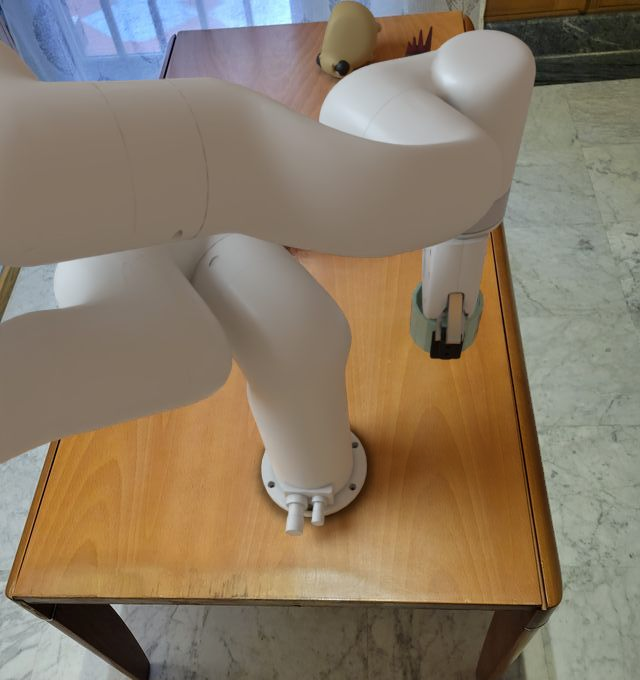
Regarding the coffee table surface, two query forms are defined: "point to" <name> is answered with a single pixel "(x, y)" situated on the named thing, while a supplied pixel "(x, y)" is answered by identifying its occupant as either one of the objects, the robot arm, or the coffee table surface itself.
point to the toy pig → (348, 39)
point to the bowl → (424, 327)
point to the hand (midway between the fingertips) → (443, 326)
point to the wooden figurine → (419, 45)
